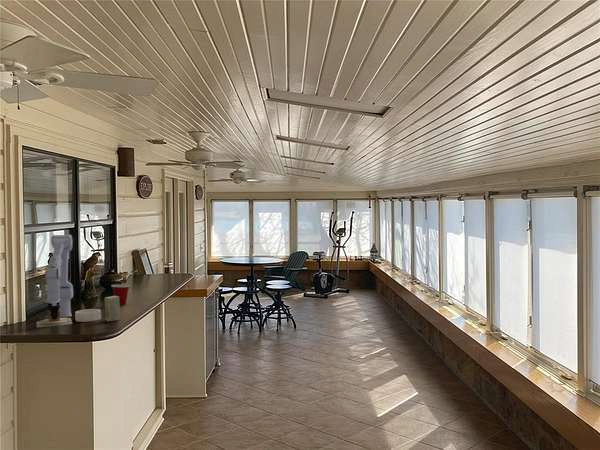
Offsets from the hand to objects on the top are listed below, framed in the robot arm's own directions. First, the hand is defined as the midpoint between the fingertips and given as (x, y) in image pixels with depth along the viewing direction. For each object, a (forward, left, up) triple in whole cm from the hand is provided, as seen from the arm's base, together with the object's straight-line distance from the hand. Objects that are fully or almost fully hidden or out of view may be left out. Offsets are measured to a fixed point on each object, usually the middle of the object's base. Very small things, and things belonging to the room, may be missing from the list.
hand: (54, 318), depth 266 cm
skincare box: (+8, +27, -3) cm, 28 cm away
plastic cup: (-40, +38, -3) cm, 55 cm away
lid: (0, 0, -2) cm, 2 cm away
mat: (0, 0, -3) cm, 3 cm away
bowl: (0, +16, -3) cm, 16 cm away
